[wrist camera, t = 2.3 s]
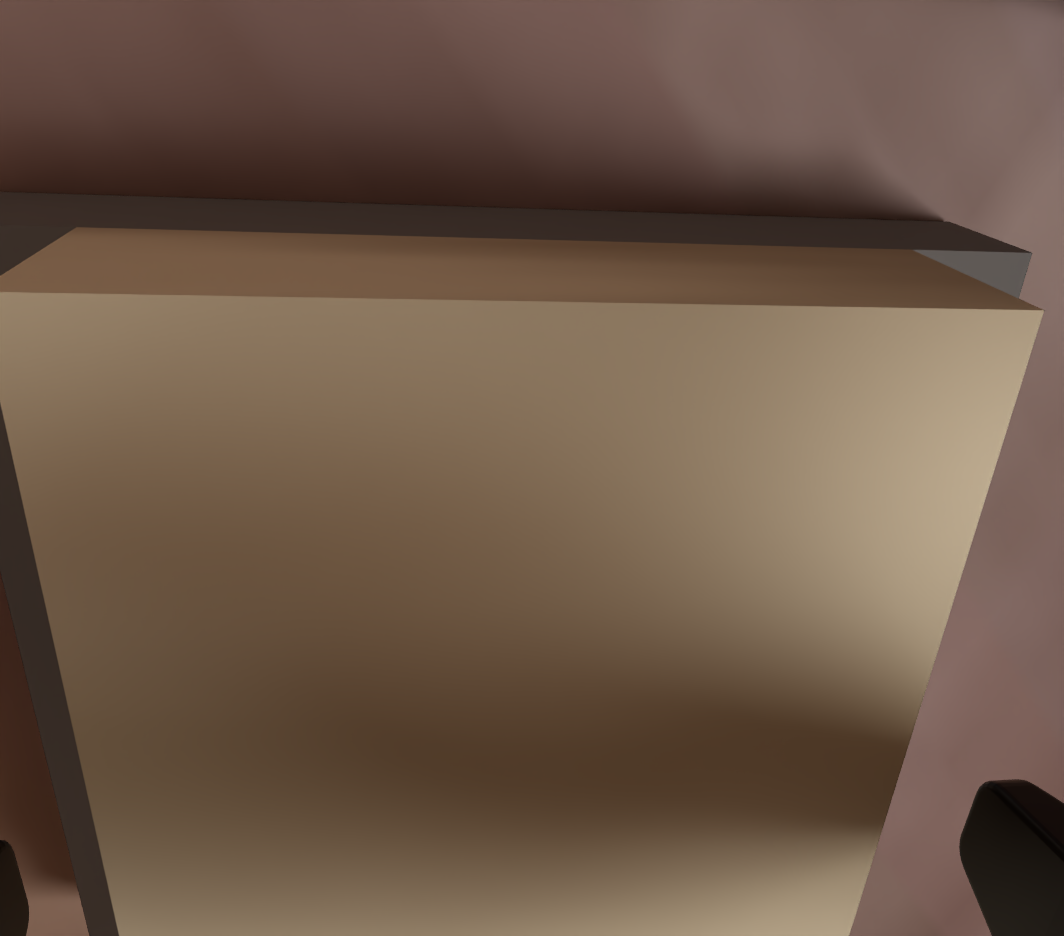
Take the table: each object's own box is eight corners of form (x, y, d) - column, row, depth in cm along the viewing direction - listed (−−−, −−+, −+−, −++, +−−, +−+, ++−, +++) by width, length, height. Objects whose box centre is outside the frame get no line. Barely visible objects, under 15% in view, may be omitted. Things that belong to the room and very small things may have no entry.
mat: (789, 854, 14) (827, 939, 13) (135, 899, 13) (104, 999, 12) (948, 221, 10) (1031, 252, 9) (-10, 192, 9) (-86, 222, 7)
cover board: (745, 946, 13) (799, 1092, 11) (204, 990, 12) (168, 1160, 10) (911, 249, 9) (1044, 311, 7) (76, 226, 8) (-25, 291, 6)
